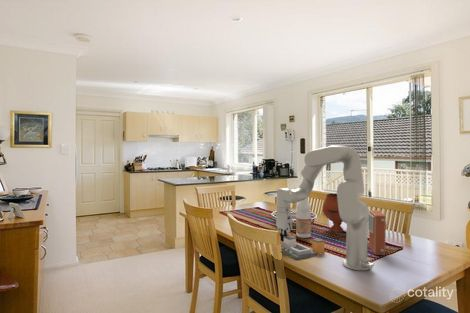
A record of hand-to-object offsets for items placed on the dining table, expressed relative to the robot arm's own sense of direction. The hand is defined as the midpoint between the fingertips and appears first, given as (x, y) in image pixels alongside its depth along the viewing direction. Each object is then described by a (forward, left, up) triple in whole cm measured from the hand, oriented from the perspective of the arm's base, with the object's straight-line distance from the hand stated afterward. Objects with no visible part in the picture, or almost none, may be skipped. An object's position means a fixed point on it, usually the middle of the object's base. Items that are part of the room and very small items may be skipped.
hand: (283, 240), depth 175 cm
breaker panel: (-9, 0, -4) cm, 9 cm away
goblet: (+9, -53, -4) cm, 54 cm away
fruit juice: (+10, -24, -4) cm, 26 cm away
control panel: (-31, -41, -4) cm, 51 cm away
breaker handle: (-6, 0, -2) cm, 6 cm away
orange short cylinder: (-17, -11, -4) cm, 20 cm away
